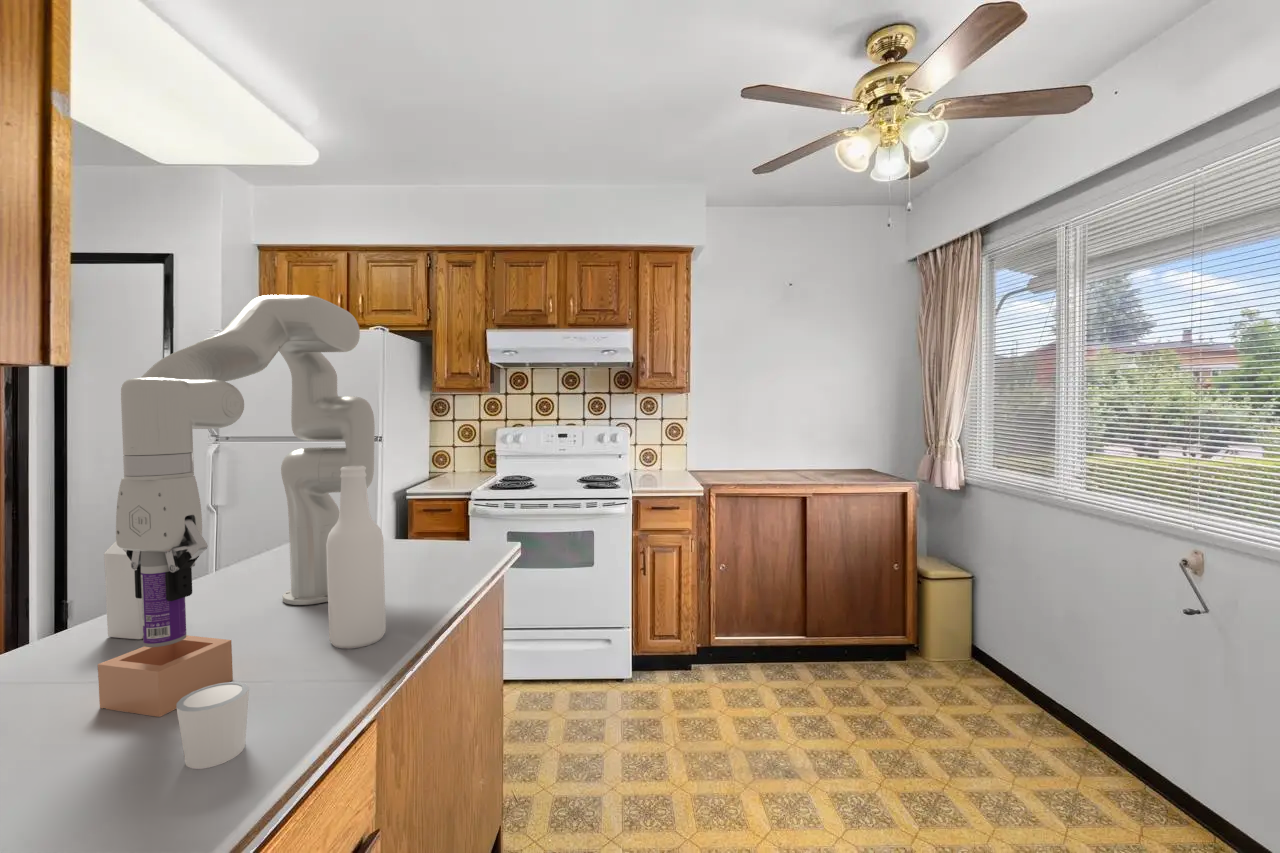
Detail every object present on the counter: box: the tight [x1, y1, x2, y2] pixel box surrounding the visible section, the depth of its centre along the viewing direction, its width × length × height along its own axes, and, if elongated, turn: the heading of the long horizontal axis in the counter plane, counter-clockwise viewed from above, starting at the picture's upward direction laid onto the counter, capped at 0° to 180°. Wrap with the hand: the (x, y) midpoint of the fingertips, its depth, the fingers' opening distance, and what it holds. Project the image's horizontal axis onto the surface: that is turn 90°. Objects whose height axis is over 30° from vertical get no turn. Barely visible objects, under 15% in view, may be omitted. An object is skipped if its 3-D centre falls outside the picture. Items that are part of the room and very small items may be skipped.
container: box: [141, 543, 187, 647], centre depth 81 cm, size 5×5×15 cm
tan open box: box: [97, 634, 234, 718], centre depth 82 cm, size 10×10×6 cm
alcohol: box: [326, 466, 387, 650], centre depth 100 cm, size 9×9×30 cm
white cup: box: [176, 681, 250, 770], centre depth 67 cm, size 7×7×7 cm
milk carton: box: [103, 540, 143, 640], centre depth 105 cm, size 7×7×19 cm
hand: (164, 595), depth 81 cm, fingers closed on container, 4 cm apart
